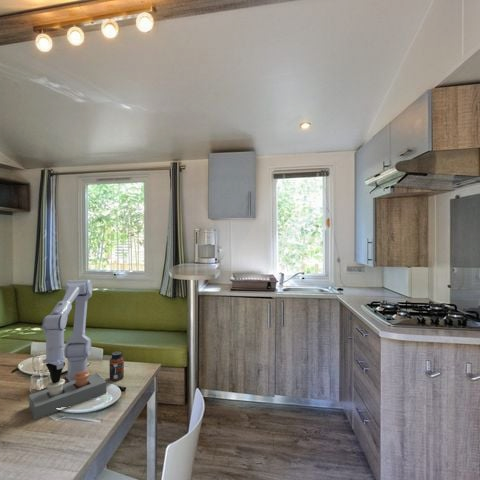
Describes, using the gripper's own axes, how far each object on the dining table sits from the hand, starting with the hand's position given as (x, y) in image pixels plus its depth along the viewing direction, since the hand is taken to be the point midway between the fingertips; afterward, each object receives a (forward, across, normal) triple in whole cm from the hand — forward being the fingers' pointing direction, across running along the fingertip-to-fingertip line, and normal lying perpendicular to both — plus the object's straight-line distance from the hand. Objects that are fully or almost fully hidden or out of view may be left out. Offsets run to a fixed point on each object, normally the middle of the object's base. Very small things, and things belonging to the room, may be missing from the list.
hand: (55, 381), depth 110 cm
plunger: (+5, 0, 0) cm, 5 cm away
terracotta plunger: (+5, 0, +9) cm, 10 cm away
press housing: (+9, 0, +4) cm, 10 cm away
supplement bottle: (+9, -4, +24) cm, 26 cm away
